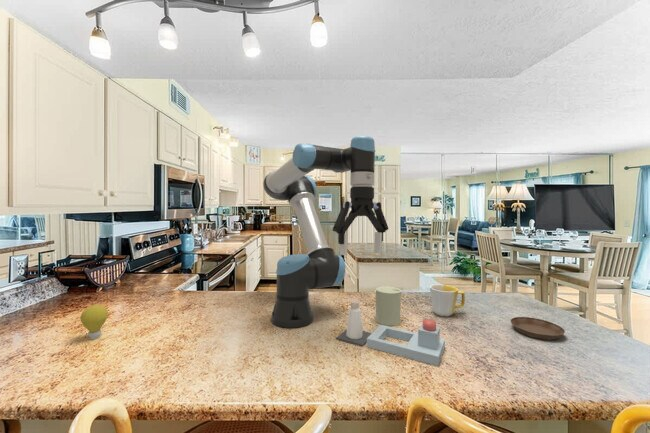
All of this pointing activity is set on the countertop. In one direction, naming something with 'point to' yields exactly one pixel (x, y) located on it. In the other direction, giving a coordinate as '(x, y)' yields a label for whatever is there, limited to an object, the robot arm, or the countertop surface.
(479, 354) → the countertop surface
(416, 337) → the frame
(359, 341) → the mat
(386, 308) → the can
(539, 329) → the saucer
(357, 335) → the pepper shaker
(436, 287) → the mug
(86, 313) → the light bulb
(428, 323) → the plunger
